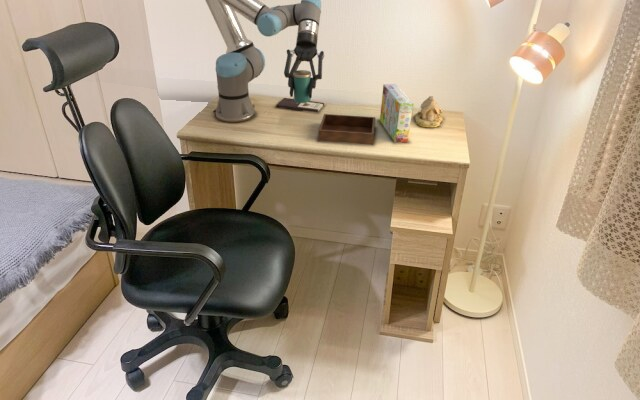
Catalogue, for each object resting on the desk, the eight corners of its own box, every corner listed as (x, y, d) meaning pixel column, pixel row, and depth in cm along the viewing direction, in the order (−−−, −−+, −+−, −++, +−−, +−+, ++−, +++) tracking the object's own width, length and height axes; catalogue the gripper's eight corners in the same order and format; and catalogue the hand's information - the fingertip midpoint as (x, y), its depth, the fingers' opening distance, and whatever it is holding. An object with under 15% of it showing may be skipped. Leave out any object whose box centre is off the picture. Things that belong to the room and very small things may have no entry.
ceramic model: (414, 113, 197) (417, 89, 191) (442, 115, 195) (445, 91, 190) (414, 127, 185) (418, 102, 179) (444, 129, 183) (448, 104, 178)
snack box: (409, 142, 173) (414, 102, 165) (394, 143, 172) (398, 103, 164) (392, 119, 191) (396, 82, 183) (378, 120, 190) (381, 83, 182)
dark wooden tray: (318, 141, 173) (318, 130, 170) (323, 124, 186) (324, 113, 183) (372, 145, 171) (373, 134, 168) (374, 127, 184) (375, 117, 181)
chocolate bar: (284, 97, 207) (323, 102, 202) (284, 99, 207) (323, 105, 203) (276, 104, 199) (317, 110, 195) (276, 107, 200) (317, 112, 195)
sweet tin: (292, 102, 171) (291, 75, 166) (295, 96, 176) (294, 69, 171) (309, 103, 170) (309, 76, 165) (312, 97, 176) (312, 70, 170)
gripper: (280, 29, 171) (272, 89, 166) (332, 32, 169) (326, 92, 164) (283, 41, 178) (275, 98, 173) (334, 43, 176) (328, 101, 171)
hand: (300, 95), depth 169 cm, fingers closed on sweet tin, 6 cm apart
